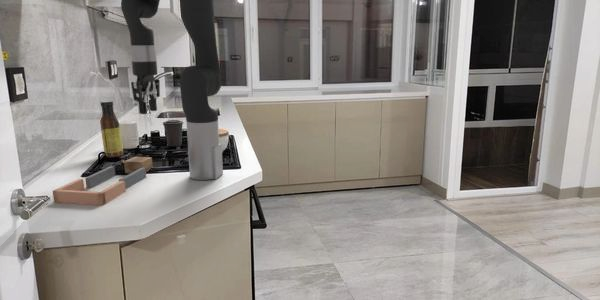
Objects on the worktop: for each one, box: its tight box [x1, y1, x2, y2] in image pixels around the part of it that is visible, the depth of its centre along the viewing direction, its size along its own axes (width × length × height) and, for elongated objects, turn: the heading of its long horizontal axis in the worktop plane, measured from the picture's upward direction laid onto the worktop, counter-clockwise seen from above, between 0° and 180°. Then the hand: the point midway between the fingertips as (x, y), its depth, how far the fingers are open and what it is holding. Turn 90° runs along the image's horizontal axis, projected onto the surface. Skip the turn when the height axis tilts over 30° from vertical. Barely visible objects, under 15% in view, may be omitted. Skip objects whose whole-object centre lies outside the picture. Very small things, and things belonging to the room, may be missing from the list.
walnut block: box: [123, 156, 154, 174], centre depth 133 cm, size 6×6×4 cm
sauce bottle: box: [99, 100, 124, 158], centre depth 149 cm, size 7×6×20 cm
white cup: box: [118, 119, 140, 150], centre depth 164 cm, size 8×8×10 cm
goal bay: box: [52, 178, 127, 206], centre depth 110 cm, size 14×10×3 cm
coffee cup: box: [162, 119, 184, 147], centre depth 168 cm, size 8×8×10 cm
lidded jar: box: [218, 128, 230, 153], centre depth 157 cm, size 11×11×9 cm
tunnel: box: [84, 165, 147, 190], centre depth 122 cm, size 11×12×3 cm
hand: (148, 112), depth 138 cm, fingers open, 6 cm apart
